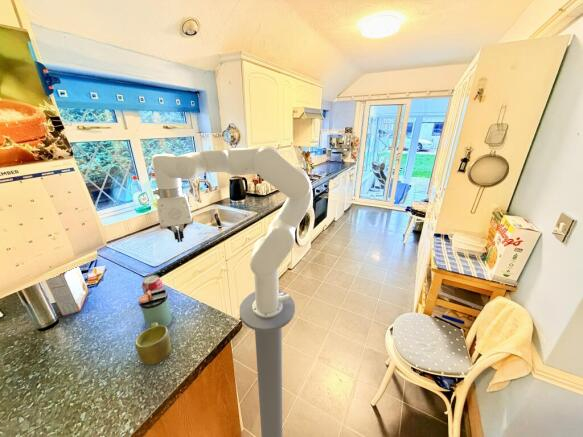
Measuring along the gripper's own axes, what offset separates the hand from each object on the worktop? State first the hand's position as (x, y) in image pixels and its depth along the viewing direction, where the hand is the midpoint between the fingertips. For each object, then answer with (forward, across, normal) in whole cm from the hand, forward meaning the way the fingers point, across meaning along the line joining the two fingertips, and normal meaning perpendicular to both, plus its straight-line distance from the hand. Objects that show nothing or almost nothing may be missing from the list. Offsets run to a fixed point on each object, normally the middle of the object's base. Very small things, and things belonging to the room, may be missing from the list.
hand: (179, 240), depth 86 cm
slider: (+19, -14, -3) cm, 24 cm away
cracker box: (+31, -43, +25) cm, 59 cm away
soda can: (+31, -13, +10) cm, 35 cm away
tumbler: (+31, -12, -3) cm, 33 cm away
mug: (+31, -13, -16) cm, 37 cm away
